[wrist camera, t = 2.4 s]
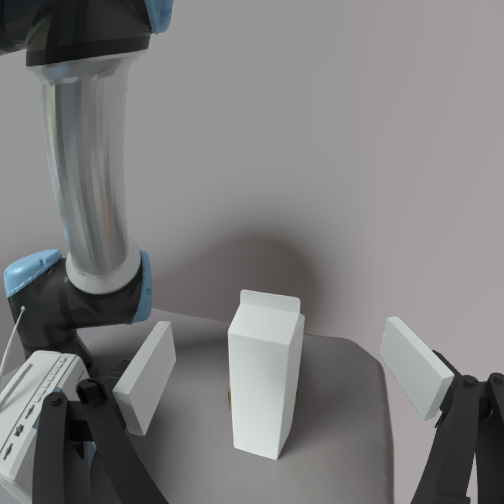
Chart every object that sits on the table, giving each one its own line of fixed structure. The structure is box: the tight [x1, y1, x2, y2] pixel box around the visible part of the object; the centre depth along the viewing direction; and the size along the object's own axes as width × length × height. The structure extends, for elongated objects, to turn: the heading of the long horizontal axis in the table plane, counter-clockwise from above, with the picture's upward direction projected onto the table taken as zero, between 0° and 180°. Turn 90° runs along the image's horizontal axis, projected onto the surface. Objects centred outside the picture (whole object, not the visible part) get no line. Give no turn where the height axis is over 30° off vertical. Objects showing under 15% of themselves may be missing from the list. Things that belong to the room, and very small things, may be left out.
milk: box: [228, 290, 305, 460], centre depth 28 cm, size 6×6×22 cm
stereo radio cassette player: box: [0, 306, 96, 504], centre depth 18 cm, size 21×8×20 cm, turn 9°
